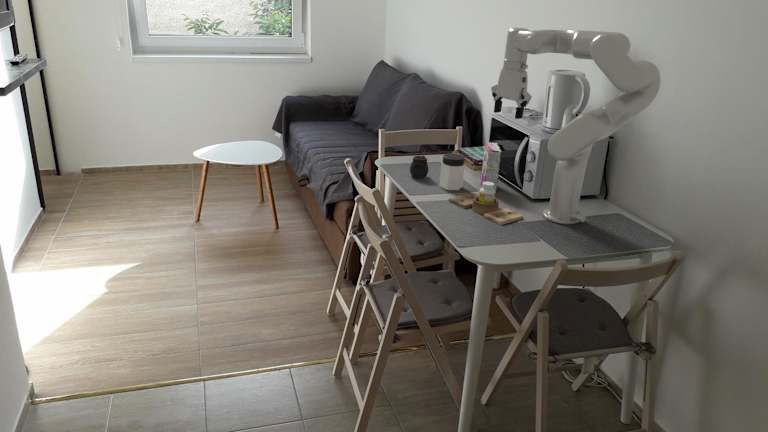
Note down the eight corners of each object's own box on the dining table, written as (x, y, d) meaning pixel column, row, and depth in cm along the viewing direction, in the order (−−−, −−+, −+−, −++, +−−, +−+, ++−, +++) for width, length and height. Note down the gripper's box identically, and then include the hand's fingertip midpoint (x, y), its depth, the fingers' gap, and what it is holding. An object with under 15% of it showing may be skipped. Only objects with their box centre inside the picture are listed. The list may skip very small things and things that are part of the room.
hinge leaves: (522, 218, 215) (524, 208, 214) (501, 224, 209) (502, 215, 207) (470, 195, 233) (471, 186, 232) (448, 201, 226) (449, 191, 225)
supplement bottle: (493, 212, 218) (497, 186, 215) (478, 211, 218) (481, 185, 215) (491, 207, 223) (495, 181, 220) (476, 206, 223) (479, 180, 220)
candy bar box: (479, 182, 247) (484, 141, 241) (492, 183, 247) (498, 142, 241) (483, 192, 237) (488, 150, 231) (496, 193, 237) (502, 151, 231)
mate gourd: (407, 178, 247) (409, 153, 243) (412, 172, 254) (414, 148, 250) (425, 181, 245) (427, 156, 241) (429, 175, 252) (431, 151, 248)
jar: (457, 192, 235) (461, 161, 231) (436, 188, 238) (439, 157, 234) (464, 185, 243) (468, 155, 239) (444, 181, 246) (447, 151, 241)
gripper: (541, 69, 212) (534, 119, 219) (502, 61, 224) (496, 109, 231) (527, 70, 208) (520, 122, 214) (488, 62, 220) (482, 111, 226)
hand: (507, 115), depth 223 cm, fingers open, 9 cm apart
